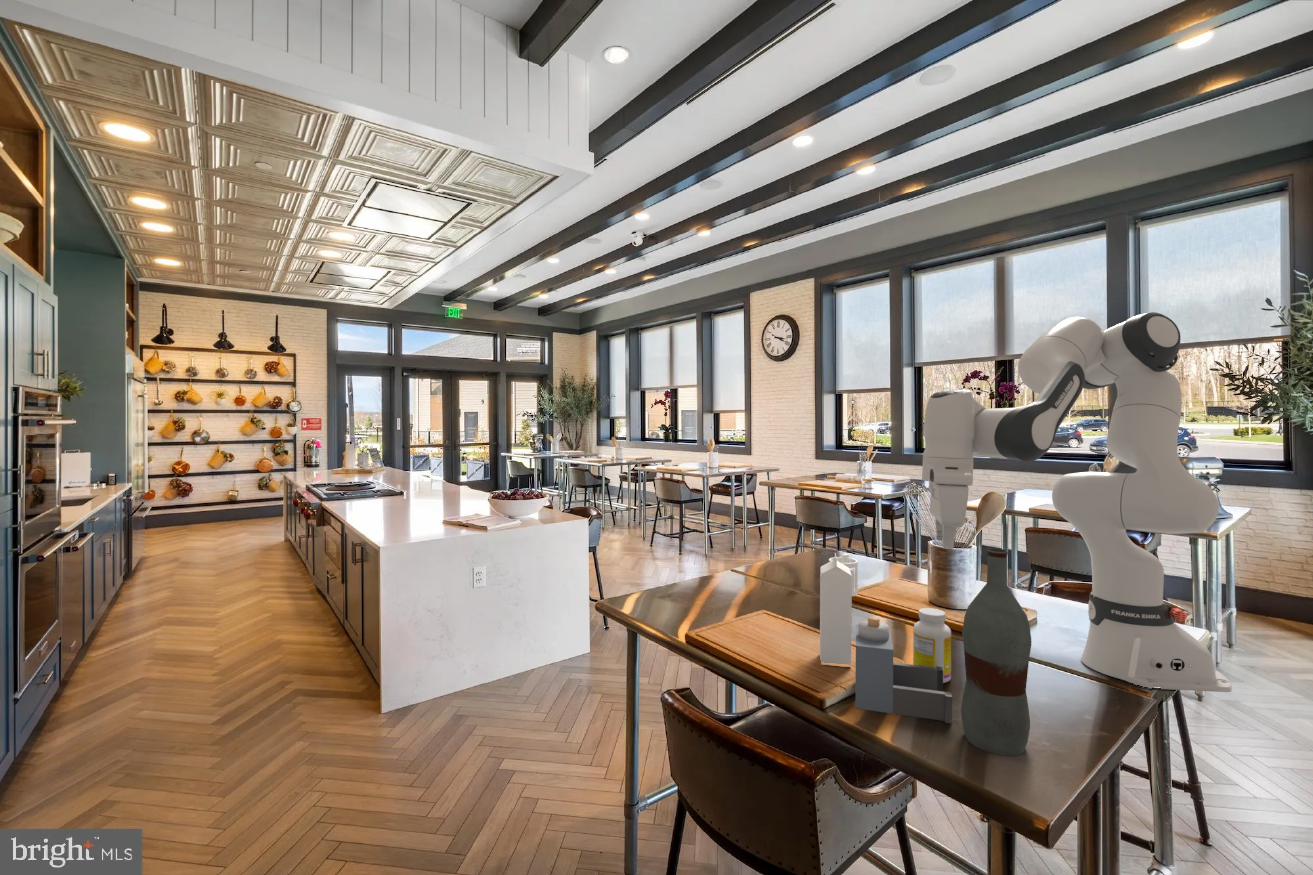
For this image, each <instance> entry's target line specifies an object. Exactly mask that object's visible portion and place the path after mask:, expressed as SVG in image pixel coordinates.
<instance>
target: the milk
mask: <svg viewBox="0 0 1313 875" xmlns="http://www.w3.org/2000/svg"><path fill="white" fill-rule="evenodd" d="M834 557H835V560H833V561H831V562H829V561H828V562H827V563H825V564H823V565H821V566H820V569H819V572H820V575H819V583H820V585H819V587H820V588H819V658H820V659H819V660H821V662H824V663H835V664H836V663H837V664H851V665H852V624H853V623H852V621H853V620H852V619H853V618H852V612H853V608H852V607H853V606H852V605H853V604H852V603H853V601H852V598H853V596H852V575H851V571H850V570H851V568H848V567H847V566H845V565H843V564H842V563H843V562H839V561H837V558H836V557H837V553H836V552H834Z"/></svg>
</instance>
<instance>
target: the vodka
mask: <svg viewBox="0 0 1313 875" xmlns="http://www.w3.org/2000/svg"><path fill="white" fill-rule="evenodd" d="M986 551H987V569H986V583H985V585H984V586H983V587H982V588H981V589H980V591H979V593H977V595H976V596H975V597H974V599H973V600H972V601H971V602H970V603H969V605H968V606H967V608H966V611H965V614H964V618H963V624H962V632H961V635H962V643H963V644H962V645H963V653H964V654H963V655H964V669H965V683H964V684H965V685H964V689H963V695H962V702H961V708H960V712H961V723H962V729H963V732H964V735H965V737H966V740H967V741H968V742H969V743H970V744H971V745H973V746H974V747H976V748H978V749H980V750H981V751H985V752H988V753H991V754H995V755H1000V756H1007V757H1008V756H1019V755H1022V754H1023V753H1024V752H1025V749H1026V747H1027V744H1028V742H1029V735H1030V729H1031V719H1030V718H1031V717H1030V710H1029V702H1028V696H1027V683H1028V672H1029V663H1030V656H1031V650H1032V634H1031V626H1030V622H1029V618H1028V615H1027V613H1026V612H1025V610H1024V609H1023V607H1022V606H1021V604H1020V602H1019V601H1018V600H1017V598H1016V597H1015V595H1014V594H1013V592H1012V591H1011V589H1010V587H1009V586H1008V553H1009V551H1008V550H1006V549H1003V548H997V547H995V548H994V547H991V548H988V549H987V550H986Z"/></svg>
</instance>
